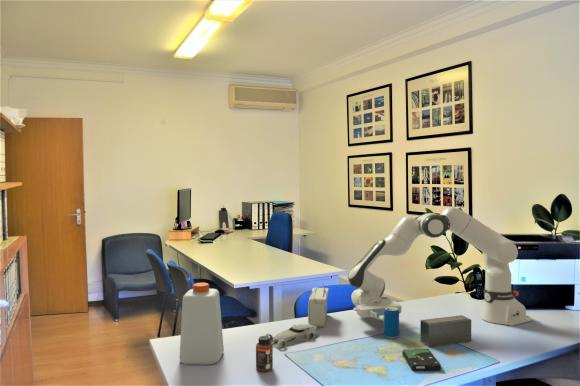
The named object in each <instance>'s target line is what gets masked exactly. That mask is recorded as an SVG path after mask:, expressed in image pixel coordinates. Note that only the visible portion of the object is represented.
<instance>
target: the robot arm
mask: <svg viewBox="0 0 580 386" xmlns="http://www.w3.org/2000/svg"><path fill="white" fill-rule="evenodd" d="M447 231H450V232H452V233H453V234H455V235H456V236H458V237H459V238H460V239H462V240H463V241H465V242H466V243H468V244H469V245H471V246H472V247H474V248H476V249H477V250H479V251H481V252H482V258H483V265H484V272H485V275H484V277H485V278H484V279H485V281H484V282H485V283H484V289H483V296H484V300H483V301H484V302H483V309H482V313H481V315H480V318H481V319H482V320H483V321H485V322H488V323H492V324H497V325H505V326H506V325H507V326H517V325H520V324H525V323H528V322H533V319H532V318H533V317H530V316H529V315H527V310H526V307H525V305H524V304H523V303H521V302H519V300H517V299H516V298H515V296H516V297H517V296H519V295H520V294H519V291H517V290H512V272H511V268H510V265H509V264H510V263H513V262H514V261H515V260H516V259H517V258H518V254H519V251H518V248H517V246H516V244H515V243H514V242H513V241H511V240H510V239H508V238H507V237H505V236H503V235H502V234H500V233H499V232H497V231H496V230H494V229H492V228H491V227H489V226H487V225H485V224H484V223H482V222H481V221H480V220H478V219H476V218H475V217H473V216H472V215H470V214H468V213H467V212H465V211H464V210H461V209H459V208H457V207H455V206H448V207H446V208H445V209H443V211H442V212H441V213H440V214H437V213H432V212H425V213H422V214H420V215H418V216H417V217H413V216H410V215H409V216H407V215H406V216H404V217H402V218H401V219H400V221H398V222H397V224H395V226H394V228H393V229H392V231H391V232H390V233H389V234H388V236H387V237H385V238H382V239H379V240H378V241H377V242H375V244H373V245H372V247H371V248H370V249H369V250H368V251H367V252H366V254H364V256H363V257H362V258H361V259H360V260H359V261H358V262H357V264H355V265H354V266H353V267H352V268H351V269H350V270H349V272H348V273H347V279H348V283H349V285H350V286H351V287H354V288H355V289H354V290H353V292H352V293H351V297H350V298H351V302H352V304H353V305H354V306H355V307H353V308H352V309H353V310H354V311H355V312H356V314H357V315H358V317H360V318H369V317H371V318H375V319H376V318H377V319H379V318H380V316H381V317H382V316H383V311H384V309H385V307H388V306H392V307H397V308H398V310H399V315H400V314H401V313H402V307H403V306H402V304H400V303H399V302H398V301H395V300H391V298H390V297H387V296H386V297H383V294H384V293H385V290H386V282H385V280H384V278H383V277H381V276H379V275H378V274H375V273H373V272H371V271H369V268H370V267H371V266H372V265H373V264H374V263H375V261H376V260H377V259H378V258H379V257H381V256H394V257H399V256H403V255H405V254H407V252H408V251H409V250H410V249H411V248H412V246H413V244H414V242H415V240H416V239H417V238H418V237H419V236H421V235H424V236H425V237H429V238H433V239H434V238H439V237H441V236H443V235H444V234H445V233H446V232H447Z"/></svg>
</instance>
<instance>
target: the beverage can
mask: <svg viewBox="0 0 580 386" xmlns="http://www.w3.org/2000/svg"><path fill="white" fill-rule="evenodd" d="M382 316H383V321H382V322H383V329H382V330H383V336H384V337H386V338H388V339H397V338H398V337H399V336H400V314H399V310H398V308H397V307H392V306H388V307H385V309H384V311H383V315H382Z"/></svg>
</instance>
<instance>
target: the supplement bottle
mask: <svg viewBox="0 0 580 386" xmlns="http://www.w3.org/2000/svg"><path fill="white" fill-rule="evenodd" d="M273 353H274V352H273V345H272V343H271V342H270V336H265V335H261V336H259V337H258V342H257V343H256V345H255V367H256V368H255V369H256V370H257V371H258V372H261V373H262V372H263V373H266V372H270V371H272V370H273V365H274V364H273V363H274V359H273V356H274V355H273Z"/></svg>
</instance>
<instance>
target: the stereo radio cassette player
mask: <svg viewBox="0 0 580 386" xmlns="http://www.w3.org/2000/svg"><path fill="white" fill-rule="evenodd" d="M329 290H330V289H329V288H328V287H325V285H324V284H322V287H312V289H311V292H310V295H309V298H308V303H307V305H308V306H307V320H308V321H307V322H308V325H314V326H316V327H317V328H318V327H319V328H324V327H325V325H326V320H327V319H326V318H327V313H328V294H329Z"/></svg>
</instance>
